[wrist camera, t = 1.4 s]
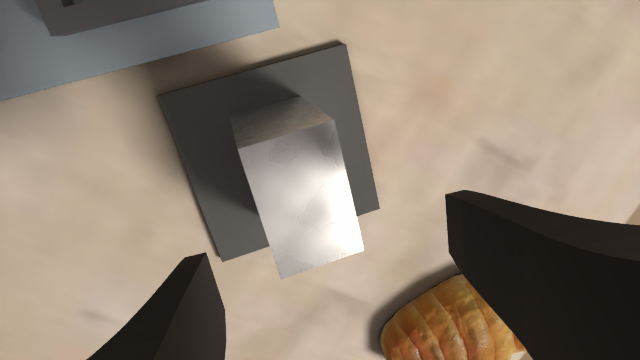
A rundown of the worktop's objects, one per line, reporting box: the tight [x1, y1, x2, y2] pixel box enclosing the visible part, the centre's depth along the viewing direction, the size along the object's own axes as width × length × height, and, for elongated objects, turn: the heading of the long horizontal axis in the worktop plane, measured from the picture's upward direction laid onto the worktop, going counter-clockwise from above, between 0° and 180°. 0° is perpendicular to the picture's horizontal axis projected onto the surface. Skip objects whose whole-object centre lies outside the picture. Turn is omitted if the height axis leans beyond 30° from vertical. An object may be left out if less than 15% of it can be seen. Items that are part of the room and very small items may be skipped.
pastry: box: [380, 274, 527, 360], centre depth 26 cm, size 9×7×4 cm
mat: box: [157, 44, 380, 262], centre depth 21 cm, size 9×9×1 cm
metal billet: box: [230, 96, 364, 280], centre depth 18 cm, size 4×6×6 cm, turn 14°
